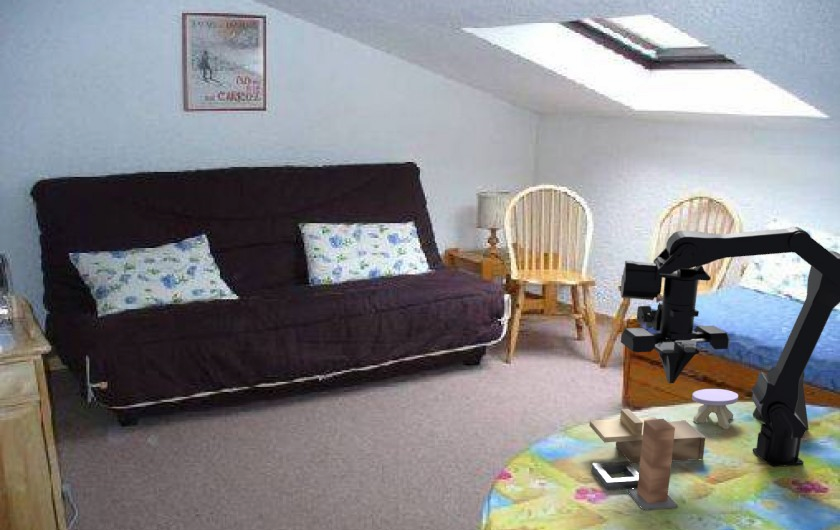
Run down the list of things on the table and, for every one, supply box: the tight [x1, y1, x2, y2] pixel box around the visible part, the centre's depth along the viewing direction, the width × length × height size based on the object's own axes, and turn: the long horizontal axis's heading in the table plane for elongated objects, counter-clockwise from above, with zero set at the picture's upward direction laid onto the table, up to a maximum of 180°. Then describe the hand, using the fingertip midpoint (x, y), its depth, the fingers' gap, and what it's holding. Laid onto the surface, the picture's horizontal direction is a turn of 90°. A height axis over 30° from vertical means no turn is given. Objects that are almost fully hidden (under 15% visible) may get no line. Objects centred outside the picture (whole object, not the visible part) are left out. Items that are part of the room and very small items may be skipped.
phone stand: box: [752, 367, 810, 431], centre depth 158 cm, size 9×6×12 cm, turn 18°
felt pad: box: [626, 488, 679, 511], centre depth 129 cm, size 6×6×1 cm
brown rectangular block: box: [637, 418, 675, 503], centre depth 128 cm, size 4×4×13 cm
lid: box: [588, 408, 658, 443], centre depth 143 cm, size 13×7×3 cm, turn 100°
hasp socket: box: [591, 460, 639, 491], centre depth 135 cm, size 7×7×2 cm
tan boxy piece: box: [615, 420, 706, 465], centre depth 145 cm, size 14×7×4 cm, turn 100°
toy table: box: [691, 388, 739, 430], centre depth 160 cm, size 10×9×6 cm
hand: (670, 382), depth 145 cm, fingers closed
